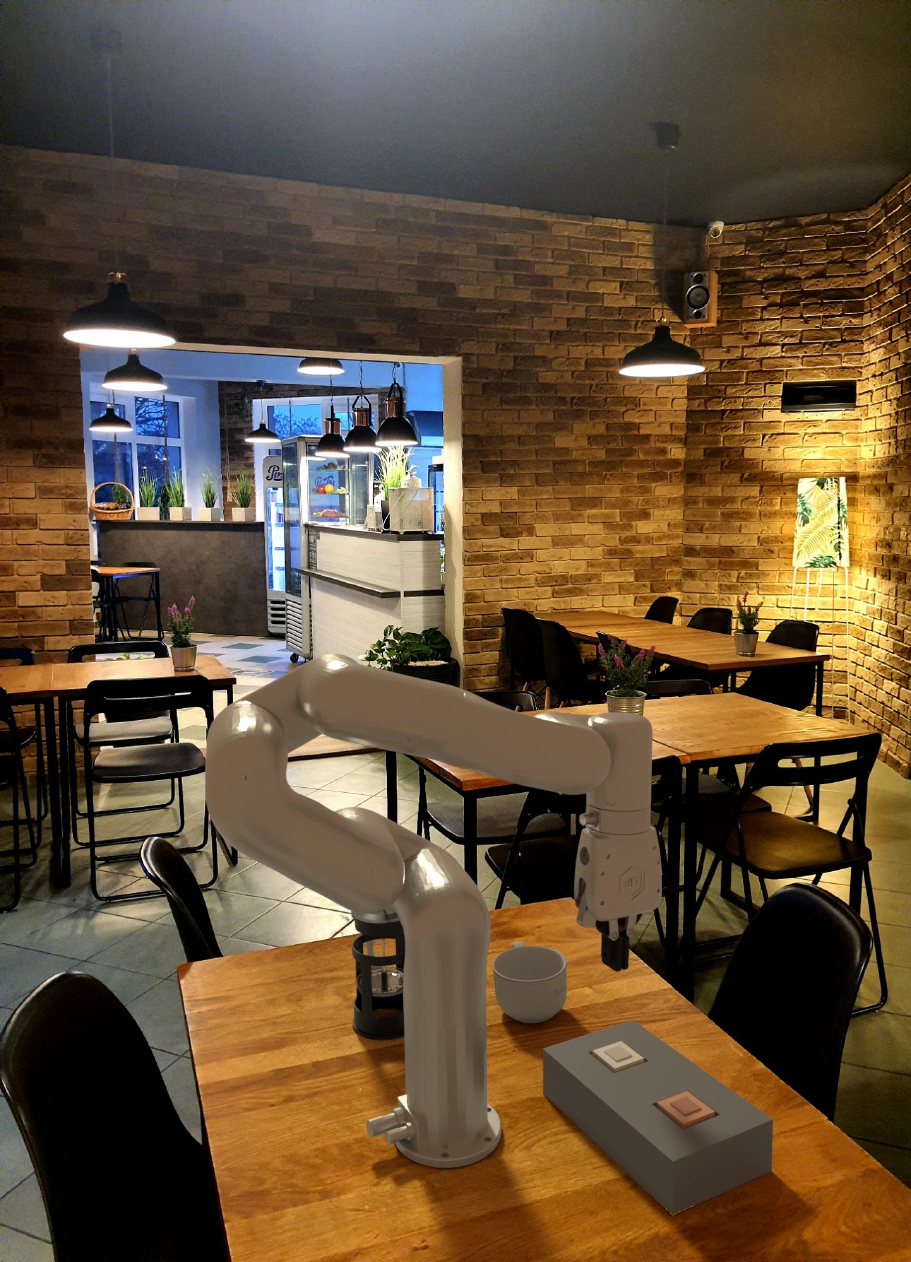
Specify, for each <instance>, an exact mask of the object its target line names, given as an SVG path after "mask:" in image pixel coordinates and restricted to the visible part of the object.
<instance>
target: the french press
mask: <svg viewBox="0 0 911 1262" xmlns="http://www.w3.org/2000/svg"><path fill="white" fill-rule="evenodd" d="M350 916H351V918H352V919H354V929H355V930H356V932H358V933H360V934H361V935H359V936H357V937H356V938H354V939H353V940H352V943H351V956H352V957H353V959H354V960H355V971H356V975H355V980H354V985H355V991H356V993H355V995H356V996H355V998H354V1000H353V1018H352V1019H353V1020H352V1028H353V1030H354V1031H355V1033H356V1034H357V1035H359V1036H361V1037H363V1038H366V1039H368V1040H369V1039H370V1040H373V1041H374V1040H375V1041H391V1040H395V1039H396V1040H397V1039H400V1038H403V1037H404V1008H403V973H404V962H405V936H404V930H403V927H402V925H401V922H400V920H399V918H398V915H397V913H396V911H394V910H392V909H391V908H389V907H388V908H387V909H385V910H382V911H380V912H376V913H370V914H368V913H358V912H354V911H351V910H350ZM372 940H374V941H376V940H381V942H382V943H381V944H382V945H381V947H382V951H381V952H382V956H379V957H376V956H368V955H366V954H364V944H365V942H368V941H372ZM385 940H394V943H395V955H394V954H393V955H386V943H385V942H386V941H385ZM371 966H383V967H378V968H373V969H371ZM392 966H393V967H392ZM385 1009H386V1010H388V1009H389V1010H396V1011H400V1012H401V1013H397V1014H392V1015H387V1016H386V1015H385V1016H383V1015H381V1016H380V1015H374V1011H378V1010H379V1011H380V1010H385Z"/></svg>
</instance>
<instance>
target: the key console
mask: <svg viewBox="0 0 911 1262" xmlns="http://www.w3.org/2000/svg"><path fill="white" fill-rule="evenodd" d="M620 1041H622V1042H623V1043H625V1044H626V1045H627V1046H628V1047H630V1048H631V1049H632V1050H634V1051H635V1052H636V1053H638V1054H639V1055H640V1056H642V1057H643V1058H644V1063H642V1064H639V1065H636V1066H634V1067H631V1068H628V1069H625V1070H622V1071H619V1072H616V1073H613V1072H612V1071H611V1070H609V1069H608V1068H607V1067H606V1066H604V1065H603V1064H602V1063H601V1062H600V1061H598V1060H597V1059H596V1058H595V1057H593V1050H596V1049H599V1048H602V1047H605V1046H608V1045H611V1044H614V1043H617V1042H620ZM685 1091H688V1092H689V1093H691V1094H692V1095H693V1096H695V1097H696V1098H697V1099H699V1100H700V1101H701V1102H703V1103H704V1104H705V1105H707V1106H708V1107H709V1108H711V1109H712V1110H713V1111H715V1117H713V1118H711V1119H708V1120H706V1121H704V1122H701V1123H699V1124H696V1125H694V1126H691V1127H689V1128H686V1129H684V1130H683V1129H682V1128H681V1127H680V1126H678V1125H677V1124H676V1123H675V1122H673V1121H672V1120H671V1119H670V1118H669V1117H667V1116H666V1115H665V1114H664V1113H662V1112H661V1111H660V1110H659V1109H657V1102H659V1101H662V1100H664V1099H667V1098H669V1097H672V1096H675V1095H677V1094H680V1093H683V1092H685ZM542 1095H543V1096H545V1098H547V1099H548V1100H549V1101H550V1102H551V1103H552V1104H553V1106H555V1107H556V1108H557V1109H558V1110H560V1112H561V1113H563V1114H564V1116H565V1117H567V1118H568V1119H569V1120H570V1121H571V1122H572V1123H573V1124H574V1125H575V1126H576V1127H577V1129H579V1130H580V1131H582V1132H583V1133H584V1134H585V1135H586V1136H587V1138H589V1139H590V1140H591V1141H592V1142H593V1143H594V1144H595V1145H596V1146H597V1147H598V1148H599V1149H600V1150H602V1152H604V1153H605V1154H606V1155H607V1156H608V1157H609V1158H610V1159H611V1160H612V1161H613V1162H614V1163H615V1164H616V1165H617V1166H619V1168H620V1169H622V1170H623V1172H625V1173H626V1174H627V1175H628V1176H629V1177H630V1178H631V1179H632V1180H633V1181H634V1182H635V1183H637V1185H638V1186H640V1187H641V1189H643V1190H644V1191H645V1192H646V1193H647V1194H648V1195H649V1194H650V1195H651V1196H652V1197H653V1198H654V1199H653V1198H652V1197H651V1198H652V1199H653V1200H654V1201H656V1202H657V1203H658V1204H659V1203H660V1204H662V1206H663V1207H664V1208H666V1209H667V1210H668V1211H669V1212H670V1213H671V1214H672V1215H673V1214H675V1213H678V1212H679V1211H682V1210H684V1209H686V1208H689V1207H690V1206H693V1205H696V1204H698V1205H700V1204H699V1203H701V1204H703V1203H704V1202H703V1201H705V1202H707V1201H709V1200H711V1198H712V1199H714V1198H716V1197H718V1196H720V1195H722V1194H725V1193H727V1192H729V1191H731V1190H734V1189H735V1187H736V1188H738V1187H740V1186H742V1185H744V1184H747V1183H748V1182H751V1181H754V1180H756V1179H757V1178H759V1177H762V1176H764V1175H766V1174H768V1173H770V1172H772V1171H773V1133H774V1131H773V1128H774V1127H773V1125H774V1119H773V1118H772V1117H770V1116H769V1115H767V1114H766V1113H765V1112H763V1111H762V1110H760V1109H759V1108H758V1107H756V1106H755V1105H753V1104H752V1103H751V1102H749V1101H747V1099H745V1098H743V1097H742V1096H740V1095H739V1094H738V1093H736V1092H735V1091H733V1090H732V1089H731V1088H730V1087H728V1086H727V1085H725V1084H724V1083H722V1082H721V1081H719V1080H718V1079H717V1078H715V1077H714V1076H712V1075H711V1074H709V1073H708V1072H707V1071H705V1070H704V1069H702V1068H701V1067H700V1066H698V1065H697V1064H695V1063H694V1062H693V1061H691V1060H690V1059H689V1058H687V1057H686V1056H684V1055H683V1054H682V1053H680V1052H679V1051H677V1050H676V1049H674V1048H673V1047H671V1046H670V1045H669V1044H667V1043H666V1042H664V1041H663V1040H661V1038H660V1037H658V1036H656V1035H655V1034H654V1033H652V1032H651V1031H649V1030H648V1029H647V1028H645V1027H643V1026H642V1025H641V1024H639V1023H638V1022H637V1021H635V1020H634V1019H631V1020H626V1021H625V1022H621V1023H618V1024H615V1025H613V1026H609V1027H605V1028H603V1029H599V1030H596V1031H593V1032H590V1033H587V1034H584V1035H581V1036H578V1037H574V1038H572V1039H568V1040H565V1041H562V1042H559V1043H555V1044H553V1045H549V1046H547V1047H544V1048H542ZM724 1192H725V1193H724ZM650 1195H649V1196H650ZM713 1197H714V1198H713ZM708 1199H709V1200H708ZM706 1200H707V1201H706ZM702 1202H703V1203H702ZM660 1204H659V1205H660ZM662 1206H661V1207H662ZM696 1206H697V1205H696ZM663 1207H662V1208H663ZM664 1208H663V1209H664Z"/></svg>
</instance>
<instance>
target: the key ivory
mask: <svg viewBox="0 0 911 1262" xmlns="http://www.w3.org/2000/svg"><path fill="white" fill-rule="evenodd" d="M593 1057H595V1058H596V1059H597V1060H598V1061H600V1062H601V1063H602V1064H603V1065H604V1066H606V1067H607V1068H608V1069H609V1070H611V1071H612V1072H613V1073H616V1072H619V1071H622V1070H625V1069H628V1068H631V1067H634V1066H636V1065H639V1064H642V1063H644V1058H643V1057H642V1056H640V1055H639V1054H638V1053H636V1052H635V1051H634V1050H632V1049H631V1048H630V1047H628V1046H627V1045H626V1044H625V1043H623V1042H622V1041H620V1042H617V1043H614V1044H611V1045H608V1046H605V1047H602V1048H599V1049H596V1050H593Z"/></svg>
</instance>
